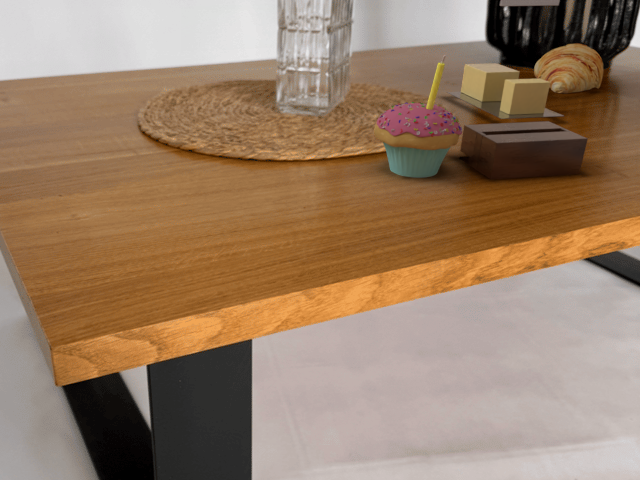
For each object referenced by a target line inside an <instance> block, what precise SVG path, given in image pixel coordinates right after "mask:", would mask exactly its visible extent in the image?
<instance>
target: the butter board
mask: <svg viewBox="0 0 640 480" xmlns="http://www.w3.org/2000/svg"><path fill="white" fill-rule="evenodd" d="M520 72H521V71H520V70H517V69H513V68H511V67H508V66H505V65H503V64H500V63H494V62H493V63H492V62H491V63H465V64H464V68H463V74H462V81H461V87H460V91H446V93H447V94H448V95H451V96H452V97H455V98H457V99H459V100H461V101H463V102H466V103H467V104H469V105H471V106H474V107H476V108H478V109H480V110H482V111H483V112H486V113H488V114H491V115H493V116H494V117H496V118H498V119H500V120H511V119H512V120H513V119H530V118H533V119H535V118H556V117H557V118H558V117H559V118H561V117H565V115H564V114H561V113H559V112H557V111H553V110H551V109H549V108H547V107H545V110H544V113H540V114H516V115H509V114H507V113H504V112H502V111H500V106H501V100H502V94H503V89H504V83H505V80H507V79H520Z"/></svg>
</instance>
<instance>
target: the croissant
mask: <svg viewBox="0 0 640 480" xmlns="http://www.w3.org/2000/svg"><path fill="white" fill-rule="evenodd" d="M604 71H605V70H604V62H603V59H602V57H601V56H600V54H599V53H598V52H597V51H596V50H595V49H593V48H592V47H589V46H588V45H587V44H583V43H577V42H576V43H567V44H566V45H563V46H559V47H555V48H552V49H551V50H549V51H548V52H546V53H545V54H544V55H542V56H541V58H539V59H538V60H537V61H536V63H535V65H534V68H533V75H534V77H535V79H539V78H540V79H542V80H545V81H548V82H550V86H549V89H550V90H551V91H552V92H554V93H556V94H572V93H579V92H580V93H581V92H583V91H589V90H592V89H594V88H595V89H600V87H601V86H602V85H601V84H602V81H603V77H604Z"/></svg>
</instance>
